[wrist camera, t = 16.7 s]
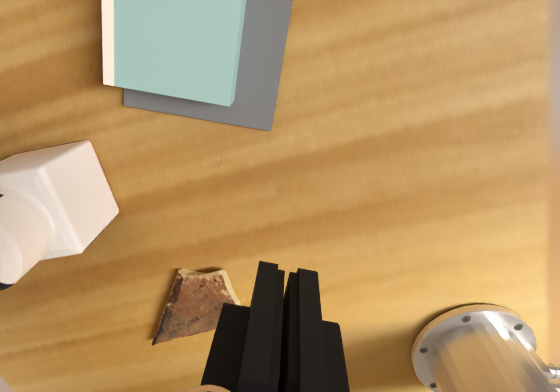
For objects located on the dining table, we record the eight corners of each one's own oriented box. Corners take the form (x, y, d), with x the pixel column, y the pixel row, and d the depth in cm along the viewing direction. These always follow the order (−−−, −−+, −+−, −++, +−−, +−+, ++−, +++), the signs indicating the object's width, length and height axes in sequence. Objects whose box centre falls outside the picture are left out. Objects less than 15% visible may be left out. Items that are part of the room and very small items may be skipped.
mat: (298, -36, 26) (298, -37, 26) (271, 129, 31) (270, 131, 31) (126, -71, 26) (123, -72, 25) (125, 104, 30) (123, 105, 30)
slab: (243, -17, 24) (100, -45, 24) (229, 106, 27) (103, 84, 27) (247, -13, 26) (116, -38, 26) (234, 100, 30) (117, 79, 29)
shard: (156, 335, 41) (150, 348, 40) (123, 281, 38) (115, 292, 37) (247, 311, 40) (246, 324, 38) (220, 253, 37) (217, 264, 35)
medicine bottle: (50, 224, 35) (-57, 313, 24) (14, 153, 32) (-126, 217, 21) (121, 212, 35) (44, 297, 24) (91, 138, 32) (-13, 196, 21)
